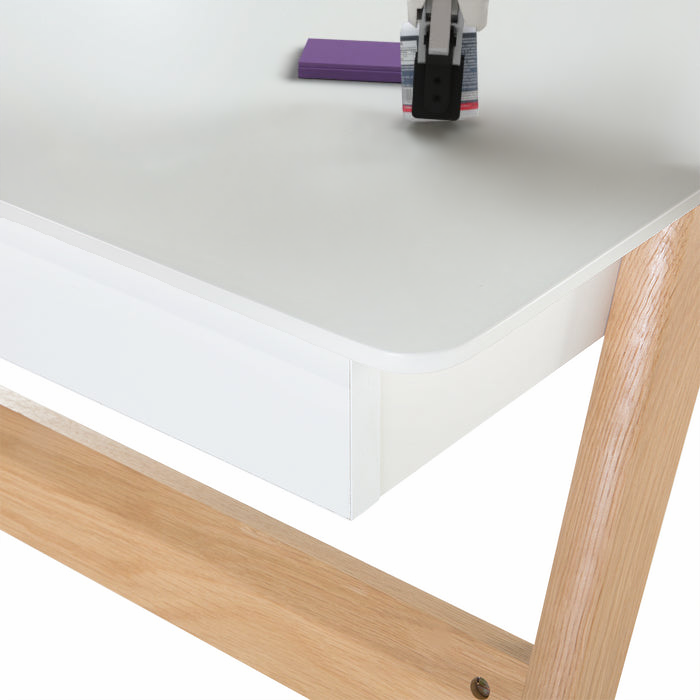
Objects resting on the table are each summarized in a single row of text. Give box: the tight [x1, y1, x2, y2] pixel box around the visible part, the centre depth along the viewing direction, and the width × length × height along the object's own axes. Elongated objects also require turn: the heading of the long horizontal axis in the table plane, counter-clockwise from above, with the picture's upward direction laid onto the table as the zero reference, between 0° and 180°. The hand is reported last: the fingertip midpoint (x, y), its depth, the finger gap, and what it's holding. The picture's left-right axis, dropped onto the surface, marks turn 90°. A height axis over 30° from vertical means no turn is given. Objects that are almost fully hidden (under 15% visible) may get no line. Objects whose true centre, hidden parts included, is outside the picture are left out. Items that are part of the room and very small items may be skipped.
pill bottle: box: [399, 20, 479, 123], centre depth 85 cm, size 5×5×9 cm
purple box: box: [297, 37, 402, 84], centre depth 96 cm, size 12×6×1 cm, turn 83°
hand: (435, 114), depth 82 cm, fingers closed
